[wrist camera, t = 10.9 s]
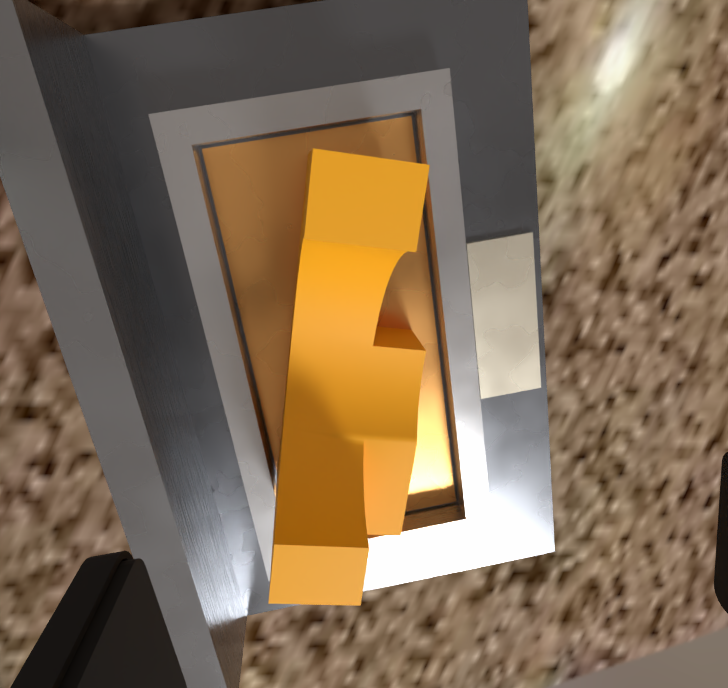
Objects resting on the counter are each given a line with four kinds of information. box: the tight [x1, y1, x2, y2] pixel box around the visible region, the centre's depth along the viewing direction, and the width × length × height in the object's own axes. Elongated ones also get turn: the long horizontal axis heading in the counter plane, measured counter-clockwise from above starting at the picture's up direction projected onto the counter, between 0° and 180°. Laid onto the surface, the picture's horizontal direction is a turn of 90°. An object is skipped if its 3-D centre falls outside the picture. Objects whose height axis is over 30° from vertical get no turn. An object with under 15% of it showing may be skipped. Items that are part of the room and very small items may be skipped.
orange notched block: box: [268, 148, 430, 605], centre depth 17 cm, size 12×4×6 cm, turn 172°
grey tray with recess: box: [0, 0, 555, 688], centre depth 19 cm, size 15×22×6 cm
